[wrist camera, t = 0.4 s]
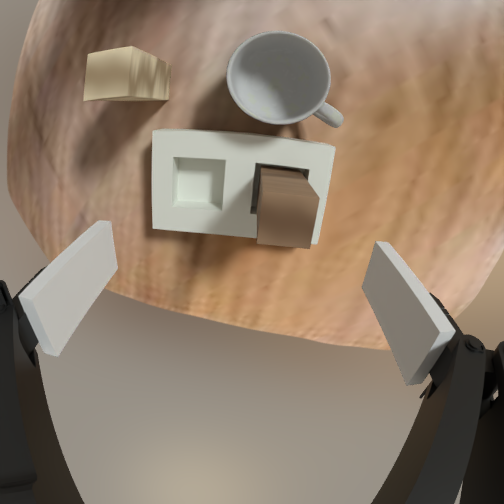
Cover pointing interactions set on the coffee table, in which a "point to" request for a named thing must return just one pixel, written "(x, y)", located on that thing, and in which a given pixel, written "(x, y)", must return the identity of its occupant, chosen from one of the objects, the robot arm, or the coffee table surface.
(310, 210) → the walnut pin
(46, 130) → the coffee table surface
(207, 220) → the bore block
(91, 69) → the pin
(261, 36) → the teacup
